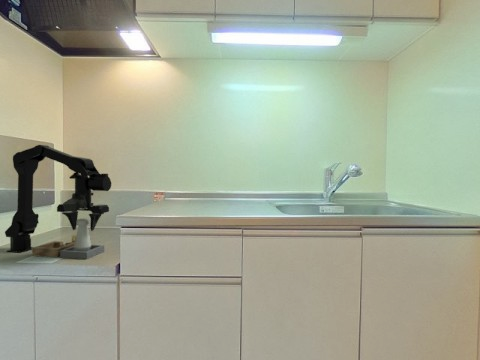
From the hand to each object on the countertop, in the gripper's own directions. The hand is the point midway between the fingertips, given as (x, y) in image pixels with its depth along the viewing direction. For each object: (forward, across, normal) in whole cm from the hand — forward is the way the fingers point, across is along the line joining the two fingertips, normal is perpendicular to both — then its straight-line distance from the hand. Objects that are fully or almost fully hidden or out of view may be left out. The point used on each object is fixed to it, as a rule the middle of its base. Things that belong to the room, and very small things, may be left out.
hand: (83, 230), depth 119 cm
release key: (+9, -12, +8) cm, 17 cm away
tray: (+10, 0, 0) cm, 10 cm away
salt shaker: (+9, 0, 0) cm, 9 cm away
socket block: (+10, -12, 0) cm, 15 cm away
